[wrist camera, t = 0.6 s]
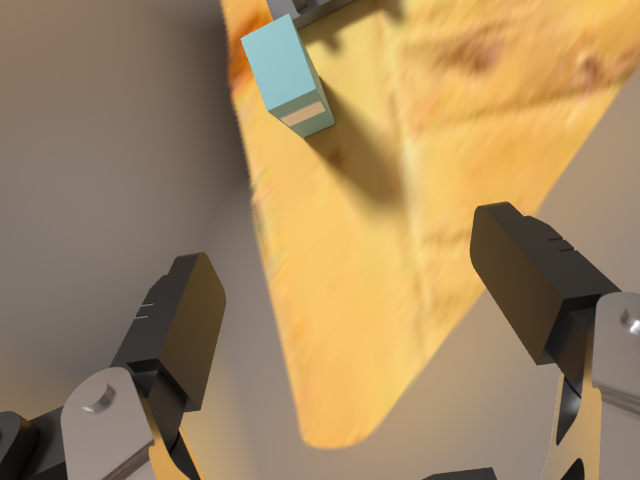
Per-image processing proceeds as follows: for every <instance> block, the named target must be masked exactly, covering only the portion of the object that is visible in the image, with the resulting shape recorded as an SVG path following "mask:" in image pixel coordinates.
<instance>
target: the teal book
mask: <svg viewBox="0 0 640 480" xmlns="http://www.w3.org/2000/svg"><path fill="white" fill-rule="evenodd" d="M240 39H241V42H242V44H243V47H244V50H245V52H246V55H247V58H248V60H249V63H250V66H251V68H252V71H253V74H254V76H255V79H256V82H257V84H258V87H259V90H260V92H261V95H262V98H263V100H264V103H265V106H266V108H267V111H268V112H269V113H271V114H272V115H273V116H275V117H276V118H277V119H278V120H280V121H281V122H282V123H284V124H285V125H286V126H287V127H289V128H290V129H291V130H293V131H294V132H295V133H296V134H298V135H299V136H300V137H302V138H304V137H306V136H308V135H311V134H313V133H315V132H317V131H320V130H322V129H324V128H327V127H329V126H331V125H334V124H336V123H335V120H334V118H333V115H332V112H331V109H330V107H329V104H328V101H327V98H326V95H325V93H324V90H323V87H322V84H321V82H320V79H319V76H318V73H317V71H316V69H315V67H314V65H313V63H312V61H311V59H310V57H309V54H308V52H307V50H306V48H305V46H304V44H303V42H302V40H301V38H300V35H299V33H298V31H297V29H296V27H295V25H294V23H293V21H292V19H291V16H290V14H289V13H288V14H286V15H285V16H283V17H281V18H279V19H277V20H275V21H273V22H271V23H269V24H267V25H265V26H263V27H261V28H260V29H258V30H256V31H254V32H252V33H250V34H248V35H246V36H244V37H242V38H240Z"/></svg>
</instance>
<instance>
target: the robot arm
mask: <svg viewBox="0 0 640 480" xmlns="http://www.w3.org/2000/svg"><path fill="white" fill-rule="evenodd" d="M562 238H563V237H561V235H559V234H558V233H557V232H556V231H555V230H554V229H553V228H552V227H551V226H550V225H548V224H546V223H544V222H542V221H540V220H538V219H536V218H534V217H531V216H523V215H522V214H521V213H520V212H519V211H518V210H517V209H516V208H515V207H514V206H513V205H511V204H510V203H509V202H500V203H494V204H488V205H482V206H478V207H477V208H476V210H475V213H474V220H473V228H472V235H471V243H470V258H471V262H472V265H473V267H474V269H475V270H476V272H477V274H478V275H479V277H480V278H481V280H482V281H483V283H484V284H485V286H486V287H487V289H488V290H489V292H490V293H491V295H492V297H493V298H494V300H495V301H496V303H497V304H498V306H499V308H500V309H501V311H502V312H503V314H504V315H505V317H506V318H507V320H508V321H509V323H510V325H511V326H512V328H513V329H514V331H515V332H516V334H517V335H518V337H519V339H520V340H521V342H522V343H523V345H524V346H525V348H526V349H527V351H528V353H529V354H530V356H531V357H532V359H533V360H534V362H535V363H536V365H544V364H551V363H556V364H557V365H558V367H559V368H560V370H561V371H562V374H561V376H560V379H559V385H558V392H557V399H556V407H555V415H554V421H553V430H552V436H551V443H550V450H549V454H548V458H547V462H546V464H545V467H544V471H543V474H542V478H541V480H640V294H637V293H630V292H622V291H621V290H620V289H619V288H618V287H617V286H616V285H614V284H613V283H612V282H611V281H610V280H609V279H608V278H607V277H606V276H605V275H603V274H602V273H601V272H600V271H599V270H598V269H597V268H596V267H595V266H594V265H592V264H591V263H590V262H589V261H588V260H587V259H586V258H585V257H584V256H583V255H581V254H580V253H579V252H578V251H575V250H574V247H573V246H571V245H570V244H569V243H568V242H567V241H566V240H563V239H562ZM142 305H143V306H142V307H140V309H139V312H138V313H137V315H136V319H134V321H133V323H132V325H131V327H130V329H129V330H128V332H127V334H126V336H125V338H124V340H123V342H122V344H121V346H120V348H119V350H118V352H117V354H116V356H115V358H114V359H113V362H112V363H111V365H110V367H109V368H107V369H105V370H102V371H100V372H97V373H96V374H94V375H92V376H91V377H89V378H88V379H86V380H85V381H84V382H83V383H82V384H81V385H79V386H78V387H77V388H76V390H75V391H74V392H73V393H72V394H71V396H70V397H69V398H68V400H67V402H66V403H65V405H64V406H62V407H60V408H58V409H55V410H53V411H51V412H48V413H46V414H44V415H41V416H39V417H37V418H35V419H32V420H30V421H28V420H26V419H25V418H23V417H22V416H20V415H18V414H17V413H15V412H11V411H6V412H1V413H0V480H206V478H205V477H204V474H203V472H202V470H201V467H200V465H199V463H198V461H197V459H196V457H195V454H194V452H193V450H192V448H191V446H190V444H189V441H188V439H187V437H186V435H185V432H184V430H183V429H182V427H181V426H180V424H181V420H182V416H183V413H184V412H192V411H199V410H201V406H202V401H203V397H204V393H205V389H206V385H207V381H208V376H209V372H210V368H211V364H212V360H213V356H214V352H215V348H216V344H217V340H218V335H219V331H220V327H221V323H222V319H223V315H224V310H225V306H226V298H225V292H224V288H223V286H222V284H221V282H220V280H219V278H218V276H217V274H216V272H215V270H214V268H213V266H212V264H211V262H210V260H209V258H208V256H207V255H206V254H205V253H203V252H201V253H195V254H190V255H183V256H178V257H177V258H176V259H175V260H174V262H173V265H172V267H171V269H170V271H169V273H168V275H164V276H162V277H161V278H160V279H159V280H158V281H157V282H156V283H155V284H154V285H153V286H152V288H151V289H150V290H149V292H148V294H147V296H146V298H145V299H144V302H143V303H142ZM423 480H497V478H496V476H495V473H494V471H493V469H492V467H490V468H482V469H474V470H465V471H458V472H449V473H440V474H434V475H431V476H429V477H427V478H425V479H423Z"/></svg>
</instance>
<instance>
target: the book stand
mask: <svg viewBox="0 0 640 480" xmlns="http://www.w3.org/2000/svg"><path fill="white" fill-rule="evenodd" d="M266 1H267V4H268V6H269V9H270V12H271V15H272V17H273V20H274V21H275V20H277V19H279V18H281V17H283V16H285V15H286V14H288V13H289V14H290V16H291V19H292V21H293V23H294V25H295V27H296V29H297V30H298V29H300V28H302V27H304V26H305V25H307V24H309V23H311V22H313V21H315V20H317V19H319V18H321V17H323V16H325V15H327V14H329V13H331V12H333V11H335V10H337V9H339V8H341V7H343V6H345V5H347V4H349V3H351V2H353V1H355V0H266Z"/></svg>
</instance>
